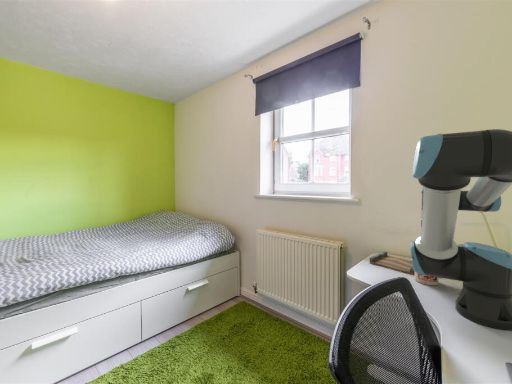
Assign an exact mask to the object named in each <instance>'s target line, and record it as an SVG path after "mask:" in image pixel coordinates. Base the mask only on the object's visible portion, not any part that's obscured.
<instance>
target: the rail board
mask: <svg viewBox="0 0 512 384" xmlns="http://www.w3.org/2000/svg"><path fill="white" fill-rule="evenodd" d="M369 264H372V265H375V266H379V267H382V268H386V269H389V268H390V270H393V269H394V270H393V271H396V272H400V271H401V272H400V273H405V274H409V275H412V276H415V271H414V270H413V266H412V260H408V259H405V258H399V257H395V256H390V255H388V251H382V252H379V253H378V254H375V255H373V256H371V257H370V256H369Z"/></svg>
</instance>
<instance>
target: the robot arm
mask: <svg viewBox="0 0 512 384" xmlns="http://www.w3.org/2000/svg"><path fill="white" fill-rule="evenodd" d="M412 177H413V178H414V179H418V180H417V181H418V184H419V185H420V186H422V187H421V210H420V211H421V213H420V214H421V215H420V218H421V220H420V227H421V229H420V231H421V232H420V235H419V236H418V237H417V238H416V240H414V241H411V243H410V257H411V258H410V259H411V260H410V261H412V266H413V270H414V271H415V272H416V273H418V274H423V275H426V276H433V277H439V279H440V278H443V279H447V280H452V281H458V282H462V288H461V291H460V292H459V294H458V296H457V298H456V300H455V310H456V312H457V313H459V314H460V315H461V316H462V317H464V318H466V319H467V320H470V321H472V322H474V323H477V324H479V325H482V326H486V327H489V328H493V329H497V330H504V331H505V330H506V331H512V254H511V253H510V252H509V251H507V250H505V249H502V248H499V247H498V246H497V247H496V246H492V245H489V244H483V243H479V242H472V241H471V242H469V241H466V242H464V243H463V244H464V245H463V247H462V246H457V245H458V243H457V242H456V241H454V240H455V239H454V238H455V232H456V225H457V218H458V211H466V212H468V211H469V212H483V213H488V212H499V210H501V206H502V195H503V194H504V193H505V192H506V191H507V190H508V189H510V187H511V186H512V130H509V129H508V130H507V129H500V128H497V129H495V128H493V129H485V130H483V129H481V130H475V131H464V132H463V131H461V132H453V133H437V134H433V135H426V136H425V135H424V136H423V137H421V138H419V140H418V141H417V144H416V148H415V152H414V158H413V163H412ZM471 178H475V180H474V181H473V183H472V185H470V183H471ZM469 185H470V188H469V189H468V190H463V189H465V188H466V187H468V186H469Z"/></svg>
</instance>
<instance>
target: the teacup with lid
mask: <svg viewBox="0 0 512 384" xmlns="http://www.w3.org/2000/svg"><path fill="white" fill-rule="evenodd" d="M440 279H444V278H439V277H433V276H426V275H423V274H418V273H416V272H415V274H414V280H415V281H416V282H418V283H420V284H422V285H426V286H437V285H439V283H440V282H439V281H440Z"/></svg>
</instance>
